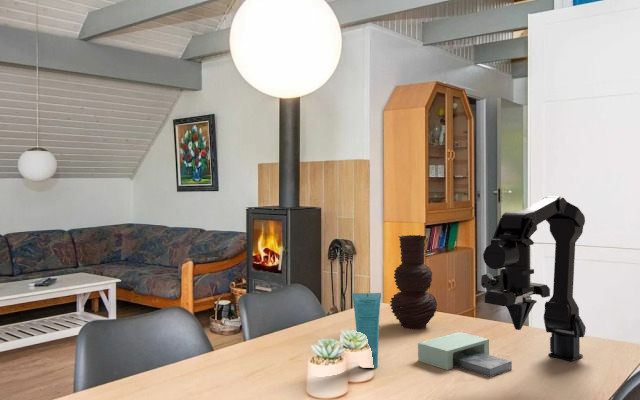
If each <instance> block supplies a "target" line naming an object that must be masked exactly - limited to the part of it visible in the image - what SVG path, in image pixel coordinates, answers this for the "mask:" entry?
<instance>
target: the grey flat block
mask: <svg viewBox="0 0 640 400" xmlns="http://www.w3.org/2000/svg"><path fill="white" fill-rule="evenodd" d="M512 362H513V361H511V360H508V359H504V358H500V357H497V356H494V355H491V354H489V355H487V354H484V353H480V352H476V351H473V350H469V349H464V350H460V351H457V352H454V353H453V367H456V368H459V369H462V370H464V371H465V370H466V371H468V372H472V373H474V374H475V373H476V374H479V375H482V376H486V377H488V378H492V377H494V376H497V375H499V374H502V373H506V372H507V371H511V370H512V369H513V367H512V366H513V363H512Z"/></svg>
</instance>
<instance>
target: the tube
mask: <svg viewBox="0 0 640 400" xmlns="http://www.w3.org/2000/svg"><path fill="white" fill-rule="evenodd" d="M351 296H352V302H353V311H354V320H355V330H356V331H357V332H361V333H363V334H365V335H366V336H367V339H368V344H369V346H370V348H371V351H372V357H373V365H374V369H376V368H378V366H379V331H380V330H379V327H380V326H379V325H380V311H381V310H380V309H381V299H382V293H381V292H367V293H366V292H365V293H364V292H353V293H351ZM356 331H355V332H356Z"/></svg>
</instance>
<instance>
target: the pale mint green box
mask: <svg viewBox="0 0 640 400" xmlns="http://www.w3.org/2000/svg"><path fill="white" fill-rule="evenodd" d="M464 349H469V350H473V351H476V352H480V353H484V354H487V355H490V338H485V337H481V336H478V335H473V334H470V333H466V332H461V331H457V332H454V333H453V332H452V333H449V334H447V335H444V336H439V337H434V338H430V339H427V340H424V341H420V342H419V341H418V342H417V351H418V352H417V358H418V359H417V361H418V362H422V363H425V364H428V365H430V366H434V367H438V368H441V369H444V370H446V371H449V370H453V369H454V366H453V353H454V352H457V351H460V350H464Z"/></svg>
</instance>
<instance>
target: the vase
mask: <svg viewBox="0 0 640 400" xmlns="http://www.w3.org/2000/svg"><path fill="white" fill-rule="evenodd" d="M398 238H399V244H400V246H399V249H400V262H401V263H400V264H399V266H398V267H396V269H395V270H394V271H393V272H394V273H393V279H395V280H394V282H395V285H396V288H397V290H399V291H398V292H397V293H396V294H395V293H394V294H393V295H392V297H391V298H390V301H389V302H390V304H389V306H390V309H391V310H392V311H391V313H392V314H393V315H394V317H395V319H396V320H398V322H399V323H400V327H402V328H403V329H407V330H421V329H424V328H425V329H426V328H427V325H428V323H430V321H431V319H433V318H434V316H435V314H436V311H437V309H438V308H437V306H438V302H437V299H436V297H435V296H434V295H433V294H432V293H429V292H427V291H428V290H429V289H430V288H431V284H432V281H433V272H432V270H431V268H430V267H429V266H427V264H425V258H426V257H425V249H426V239H427V236H426V235H420V234H419V235H417V234H416V235H413V234H412V235H411V234H408V235H403V234H402V235H400V236H399V235H398Z"/></svg>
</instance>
